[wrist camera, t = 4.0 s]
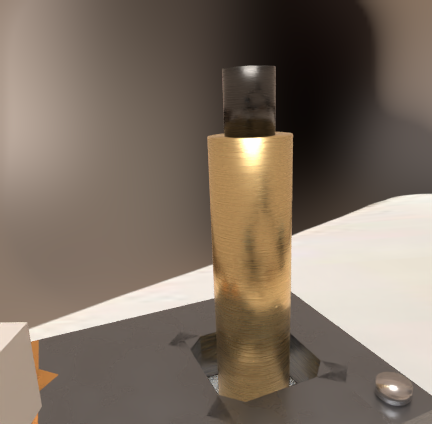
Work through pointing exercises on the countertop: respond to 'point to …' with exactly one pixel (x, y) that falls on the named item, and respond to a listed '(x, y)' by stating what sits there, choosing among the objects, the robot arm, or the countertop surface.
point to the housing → (207, 366)
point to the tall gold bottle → (251, 237)
